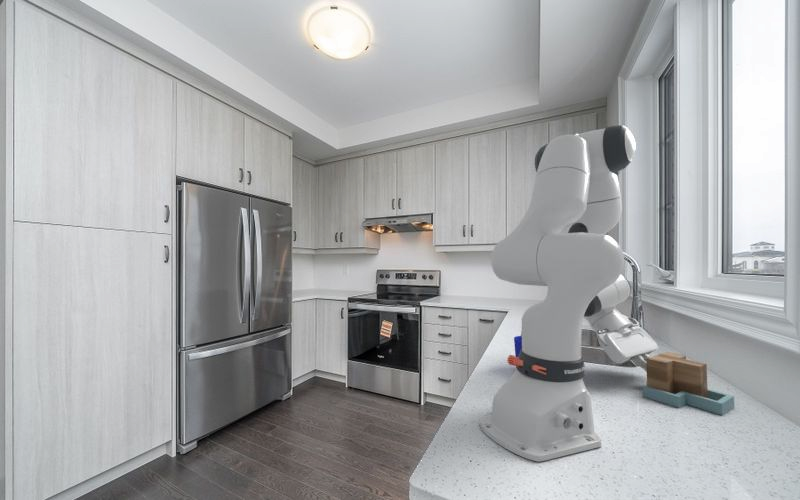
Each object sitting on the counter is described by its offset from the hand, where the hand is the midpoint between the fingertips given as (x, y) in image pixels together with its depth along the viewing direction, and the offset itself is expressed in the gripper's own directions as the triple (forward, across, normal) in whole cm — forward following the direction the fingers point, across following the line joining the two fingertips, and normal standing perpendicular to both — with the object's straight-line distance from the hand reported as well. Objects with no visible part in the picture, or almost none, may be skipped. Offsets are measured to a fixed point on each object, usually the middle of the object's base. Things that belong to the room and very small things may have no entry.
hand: (654, 372), depth 80 cm
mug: (-13, -18, +19) cm, 29 cm away
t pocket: (+8, 0, -2) cm, 8 cm away
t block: (+7, 0, -1) cm, 7 cm away
